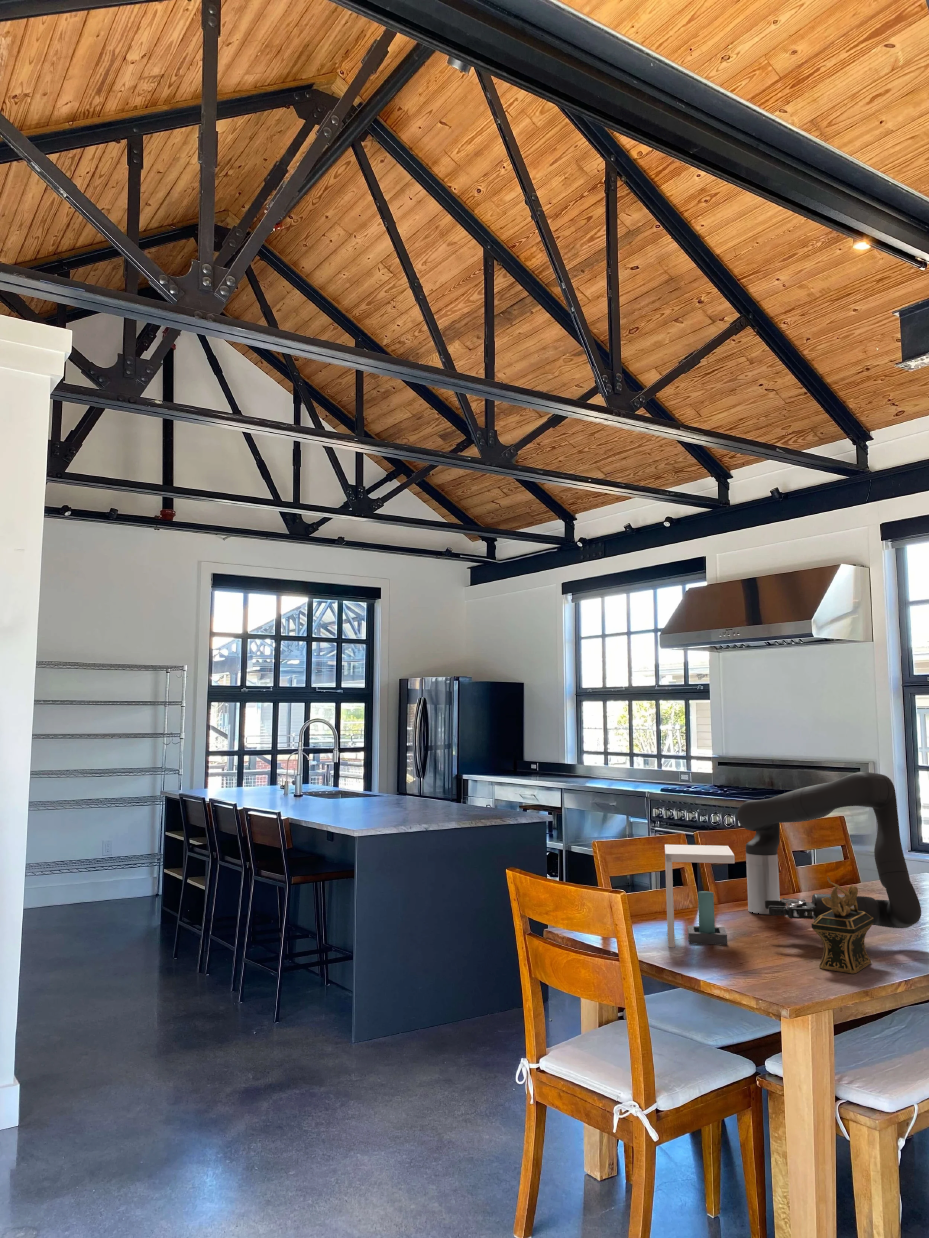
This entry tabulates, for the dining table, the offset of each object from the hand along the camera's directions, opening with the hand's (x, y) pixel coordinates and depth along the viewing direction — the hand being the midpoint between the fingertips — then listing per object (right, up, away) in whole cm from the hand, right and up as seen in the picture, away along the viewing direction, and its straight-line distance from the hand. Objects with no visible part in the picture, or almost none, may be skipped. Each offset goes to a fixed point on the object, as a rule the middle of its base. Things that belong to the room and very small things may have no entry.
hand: (766, 907), depth 228 cm
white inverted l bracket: (-16, -9, +2) cm, 19 cm away
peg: (-15, -9, +2) cm, 18 cm away
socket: (-15, -9, +2) cm, 18 cm away
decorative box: (+9, -6, -25) cm, 27 cm away
